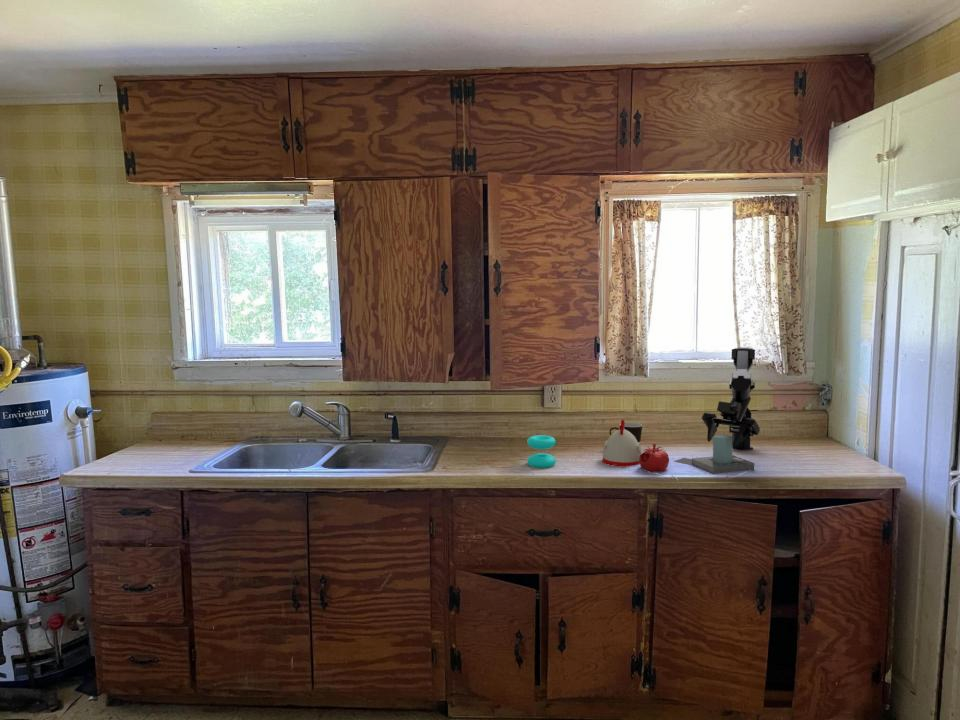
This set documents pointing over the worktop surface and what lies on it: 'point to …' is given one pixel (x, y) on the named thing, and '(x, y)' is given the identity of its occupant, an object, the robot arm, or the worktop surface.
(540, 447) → the donuts
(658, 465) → the pomegranate
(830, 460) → the worktop surface
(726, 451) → the block
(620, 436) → the kitchen timer
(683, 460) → the mat
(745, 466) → the plate
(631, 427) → the coffee mug
